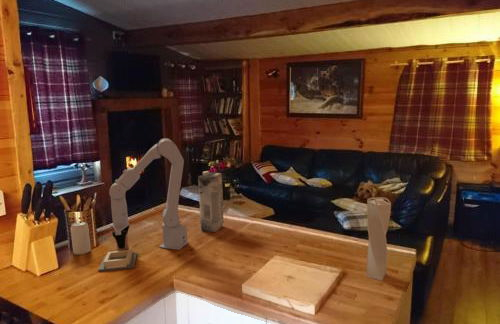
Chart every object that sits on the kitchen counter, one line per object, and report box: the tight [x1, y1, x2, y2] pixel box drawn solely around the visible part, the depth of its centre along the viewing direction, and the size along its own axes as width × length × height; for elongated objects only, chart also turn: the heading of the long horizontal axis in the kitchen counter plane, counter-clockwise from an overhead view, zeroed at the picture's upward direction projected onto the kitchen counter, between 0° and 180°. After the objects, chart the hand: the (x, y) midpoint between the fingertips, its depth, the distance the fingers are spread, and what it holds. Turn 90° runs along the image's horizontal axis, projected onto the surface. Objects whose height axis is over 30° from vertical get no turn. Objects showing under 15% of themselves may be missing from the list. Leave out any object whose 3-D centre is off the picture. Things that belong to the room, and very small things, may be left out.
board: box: [98, 249, 138, 272], centre depth 137 cm, size 12×12×3 cm
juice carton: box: [197, 170, 224, 233], centre depth 168 cm, size 9×10×27 cm
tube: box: [116, 230, 130, 251], centre depth 147 cm, size 4×4×8 cm
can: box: [70, 220, 91, 256], centre depth 147 cm, size 6×6×12 cm
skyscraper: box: [365, 196, 392, 282], centre depth 120 cm, size 8×8×28 cm
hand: (122, 245), depth 147 cm, fingers closed on tube, 4 cm apart
